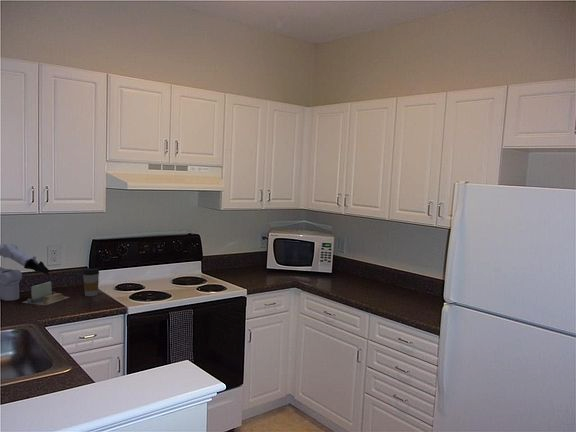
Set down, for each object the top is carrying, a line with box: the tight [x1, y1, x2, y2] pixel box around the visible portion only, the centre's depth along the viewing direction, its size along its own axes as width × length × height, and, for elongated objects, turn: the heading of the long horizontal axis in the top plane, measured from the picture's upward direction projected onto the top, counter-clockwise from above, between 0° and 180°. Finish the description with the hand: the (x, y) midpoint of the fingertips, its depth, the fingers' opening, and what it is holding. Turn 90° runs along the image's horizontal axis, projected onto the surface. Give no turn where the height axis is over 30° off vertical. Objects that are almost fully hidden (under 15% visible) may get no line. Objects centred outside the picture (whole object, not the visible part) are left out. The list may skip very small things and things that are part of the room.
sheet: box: [30, 281, 53, 300], centre depth 247 cm, size 1×12×8 cm, turn 163°
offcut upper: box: [45, 292, 63, 300], centre depth 244 cm, size 4×8×2 cm, turn 163°
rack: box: [21, 291, 70, 306], centre depth 246 cm, size 15×17×3 cm
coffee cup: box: [82, 267, 100, 297], centre depth 258 cm, size 8×8×15 cm
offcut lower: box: [43, 295, 66, 304], centre depth 244 cm, size 4×10×2 cm, turn 163°
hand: (44, 271), depth 241 cm, fingers open, 7 cm apart
